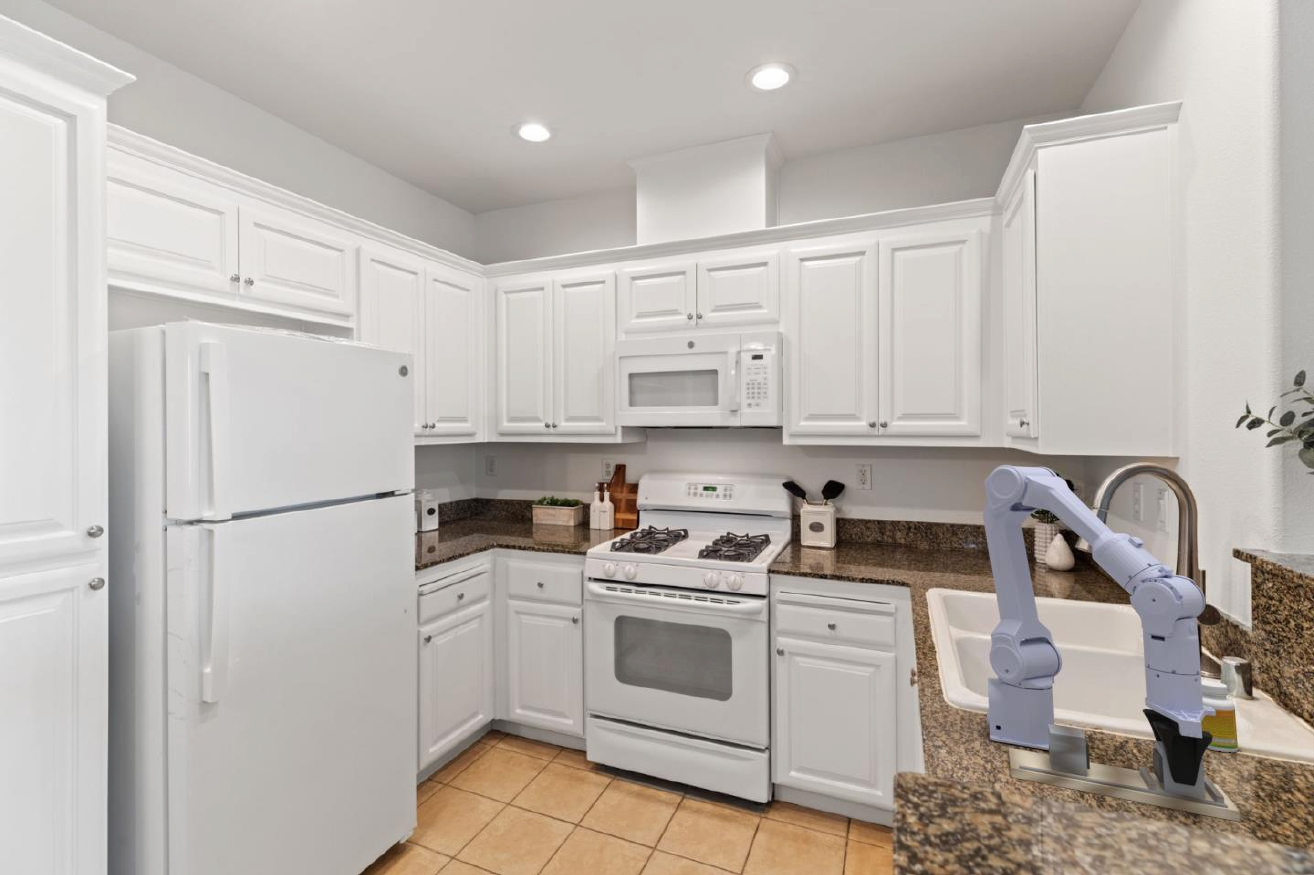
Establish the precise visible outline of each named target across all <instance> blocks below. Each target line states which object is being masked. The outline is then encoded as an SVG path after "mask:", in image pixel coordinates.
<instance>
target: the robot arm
mask: <svg viewBox="0 0 1314 875" xmlns="http://www.w3.org/2000/svg"><path fill="white" fill-rule="evenodd" d="M983 486H984V490H985V496H986V498H985V503H984V509H983V514H982V518H983V525H984V530H985V536H986V542H987V543H986V544H987V548H988V554H989V559H990V560H989V561H990V565H991V571H992V576H993V584H994V588H995V595H996V602H997V607H998V613H999V620H1000V621H999V623H998V624H996V625H997V626H995V628H994V629H993V631H992V632H991V633H990V638H991V648H990V651H989V663H990V665H991V668H992V670H993V672H994V674H995V675H996V676H997V677H998V678H997V677H996V678H995V677H994V678H993V677H988V678H987V692H988V693H987V694H988V712H986V724H987V725H989V739H990V740H991V741H994V742H1000V743H1005V744H1011V745H1017V746H1023V747H1029V748H1034V749H1039V750H1040V749H1041V750H1046V751H1049V738H1048V724H1053V725H1055V712H1054V711H1055V710H1054V689H1053V685H1054V684H1055V677H1056V676H1057V675H1059V674H1060V673H1061V671H1062V668H1063V667H1062V666H1063V660H1062V656H1061V653H1060V651H1059V649H1058V648H1057V646H1056V645H1055V642H1054V640H1053V637H1052V631H1051V630H1050V629H1049V628H1047V626H1045V625H1044V624H1043V622H1041V621H1040V620H1039V619H1040V618H1039V615H1038V610H1037V604H1036V599H1035V594H1034V593H1035V592H1034V589H1033V588H1034V587H1033V581H1032V577H1031V570H1030V566H1029V560H1028V555H1027V550H1026V544H1025V539H1024V534H1023V528H1022V525H1023V523H1024V522H1025V521H1026V520H1027V519H1028V518H1029V516H1030V515H1032V514H1033V513H1034V512H1036V511H1038V510H1039V509H1040V510H1045V511H1049V512H1050V513H1052V514H1053V515H1054V516H1055V517H1057V519H1059V520H1060V521H1061V522H1062V523H1064V524H1065V525H1066V526H1067V527H1068V528H1070V529H1071V531H1073V532H1074V533H1075V534H1076V535H1078V536H1079V537H1080V538H1081V539H1083V540H1084V541H1085V542H1086V543H1087V544H1089V545H1090V546H1091V548H1092V555H1091V556H1092V559H1093V560H1094V562H1095V563H1097V564H1098V566H1100V568H1102V569H1103V570H1104V571H1105V572H1106V573H1107V574H1108V575H1109V576H1110V577H1111V578H1112V579H1113V580H1114V581H1116V583H1118V585H1120V586H1121V587H1122V588H1123V589H1124V590H1125V591H1126V592H1127V593H1128V594H1129V601H1130V604H1131V606H1132V609H1133V610H1134V611H1135V612H1136V613H1137V615H1138V616H1139V618H1140V621H1141V623H1140V624H1141V628H1142V640H1143V657H1144V675H1145V676H1144V678H1145V690H1146V697H1145V698H1144V703H1145V704H1144V705H1145V706H1146V707H1147V708H1143V709H1142V712H1143V714H1144V716H1145V717H1146V719H1147V721H1148V723H1149V725H1150V727H1151V730H1152V733H1153V736H1154V738H1155V741H1161V742H1162V743H1163V745H1164V749H1165V752H1166V756H1167V761H1168V765H1169V769H1170V773H1171V776H1172V778H1173V781H1174V782H1175V783H1179V784H1185V785H1190V786H1195V784H1196V781H1197V778H1198V773H1199V768H1200V763H1201V760H1202V757H1203V756H1204V754H1205V752H1206V750H1208V749H1207V747H1208V746H1209V744H1210V743H1211V742H1212V739H1213V736H1212V735H1211V734H1210V733H1209V732H1207V731H1202V727H1201V721H1202V720H1203V718H1204V717H1205V716H1206V715H1210V716H1216V712H1215V710H1214V709H1213V708H1212V707H1210V706H1204V705H1203V698H1202V684H1201V680H1202V672H1201V658H1200V655H1201V654H1200V642H1199V630H1198V628H1199V627H1198V617H1199V616H1200V615H1201V614H1203V611H1204V610H1205V608H1206V597H1205V594H1204V593H1203V590H1202V589H1201V588H1200V587H1199V586H1198V584H1197V583H1196V582H1195V581H1194V580H1193V579H1191V578H1190V577H1186V576H1184V575H1181V574H1179V575H1178V574H1174V573H1173V572H1174V569H1172V567H1170V566H1169V565H1167V564H1165V565H1164V564H1163V563H1162V562H1160V560H1158V559H1157V558H1156V557H1154V556H1153V555H1152V554H1151V553H1150V552H1149V551H1148V550H1146V549H1145V548H1144V547H1143V546H1144V545H1145V543H1144V541H1143V540H1142V539H1141V538H1140V537H1138V536H1130V535H1129V534H1128V533H1124V532H1123V533H1122V532H1121V533H1120V532H1114V531H1112V530H1111V529H1110V528H1109V527H1108V526H1107V525H1106V524H1105V523H1104V522H1103V521H1102V520H1101V518H1099V517H1098V516H1097V515H1096V514H1095V513H1094V512H1093V511H1092V510H1091V509H1090V508H1089V507H1087V505H1086V504H1085V503H1084V502H1083V501H1082V500H1081V498H1079V497H1078V496H1077V495H1076V494H1075V493H1074V492H1073V490H1071V489H1070V488H1069V486H1068V483H1067V482H1066V480H1065V479H1063V478H1061V476H1057V474H1056V473H1055V472H1054V471H1053V470H1052V469H1050V468H1049V467H1046V466H1034V467H1033V466H1015V465H1009V464H1003V465H999V466H997V467H996V468H994V469H993V470H992V471H991V473H990V474H989V475H988V476H987V477H986V478H985V480H984V482H983ZM1203 758H1204V757H1203Z"/></svg>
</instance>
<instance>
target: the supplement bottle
mask: <svg viewBox="0 0 1314 875" xmlns="http://www.w3.org/2000/svg"><path fill="white" fill-rule="evenodd" d="M1201 684H1202V698H1203V705H1204V706H1210V707H1212V708H1213V709H1214V710H1215V712H1216V716H1210V715H1206V716H1205V717H1204V718H1203V720H1202V721H1201V727H1202V731H1207V732H1209V733H1210V734H1211V735H1212V736H1213V739H1212V742H1211V743H1210V744H1209V746H1208V747H1207V749H1206V750H1210V751H1213V752H1214V751H1215V752H1218V751H1221V752H1220V753H1229V752H1231V753H1236V752H1238V751H1239V744H1238V734H1237V733H1238V731H1237V721H1236V708H1235V706H1236V704H1235V703H1234V702H1233V701H1232V700H1231V699H1229V698H1227V696H1229V692H1228V690H1229V689H1228V685H1226V684H1225V683H1221V682H1217V681H1213V680H1205V679H1201Z"/></svg>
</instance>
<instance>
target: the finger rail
mask: <svg viewBox="0 0 1314 875" xmlns="http://www.w3.org/2000/svg"><path fill="white" fill-rule="evenodd" d="M1048 738H1049V750H1048V752H1049V753H1048V754H1046V753H1040V752H1035V751H1029V750H1025V749H1024V750H1023V749H1017V748H1013V747H1009V748H1008V754H1009V755H1008V756H1009V766H1010V775H1011V778H1015V779H1019V780H1025V781H1030V782H1034V783H1035V782H1036V783H1039V784H1045V785H1050V786H1054V787H1061V788H1065V789H1071V790H1076V791H1079V792H1080V791H1081V792H1086V793H1090V794H1096V795H1101V796H1105V797H1111V798H1116V799H1122V800H1125V801H1132V802H1137V803H1140V804H1141V803H1142V804H1147V805H1152V806H1157V807H1162V808H1167V809H1172V810H1177V811H1183V812H1187V813H1191V814H1196V815H1197V814H1198V815H1202V816H1206V817H1207V816H1208V817H1212V818H1217V819H1222V820H1228V821H1234V822H1238V823H1241V822H1242V821H1241V820H1242V819H1241V812H1240V810H1239V809H1238V807H1237V806H1236V805H1235V803H1233V801H1232V800H1231V799H1230V798H1229V797H1228V795H1227V794H1226V793H1225V791H1223V789H1222V787H1220V785H1219V784H1215V783H1213V782H1212V781H1211V779H1210V778H1209V777H1206V776H1204V784H1205V799H1202V798H1197V797H1191V796H1186V795H1181V794H1175V793H1170V792H1165V791H1164V789H1163V787H1162V786H1161V784H1160V783H1159V781H1158V779H1157V777H1156V775H1155V774H1154V772H1153V773H1152V772H1149V771H1148V769H1147V767H1146V766H1142V765H1139V766H1138V770H1137V769H1130V768H1124V767H1119V766H1114V765H1113V766H1112V765H1109V764H1104V763H1103V764H1101V763H1096V762H1091V761H1090V746H1089V745H1090V744H1089V742H1088V740H1087V737H1086V736H1085V735H1084V733H1083V730H1082V728H1077V727H1071V726H1065V725H1061V724H1060V725H1059V724H1054V725H1053V724H1048Z"/></svg>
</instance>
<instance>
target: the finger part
mask: <svg viewBox="0 0 1314 875" xmlns="http://www.w3.org/2000/svg"><path fill="white" fill-rule="evenodd" d="M1154 745H1155V746H1154V747H1152V748H1151V749H1152V760H1153V761H1152V765H1153V773H1154V774H1155V775H1156V777H1157V779H1158V781H1159V783H1160V784H1161V786H1162V787H1163V789H1164V791H1165V792H1170V793H1175V794H1181V795H1186V796H1191V797H1197V798H1202V799H1205V784H1204V777H1205V771H1204V760H1203V759H1204V757H1202V760H1201V763H1200V768H1199V773H1198V778H1197V781H1196V784H1195V786H1190V785H1185V784H1179V783H1175V782H1174V781H1173V778H1172V776H1171V773H1170V769H1169V765H1168V761H1167V756H1166V752H1165V749H1164V745H1163V743H1162V742H1161V741H1156V740H1155V741H1154Z"/></svg>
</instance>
